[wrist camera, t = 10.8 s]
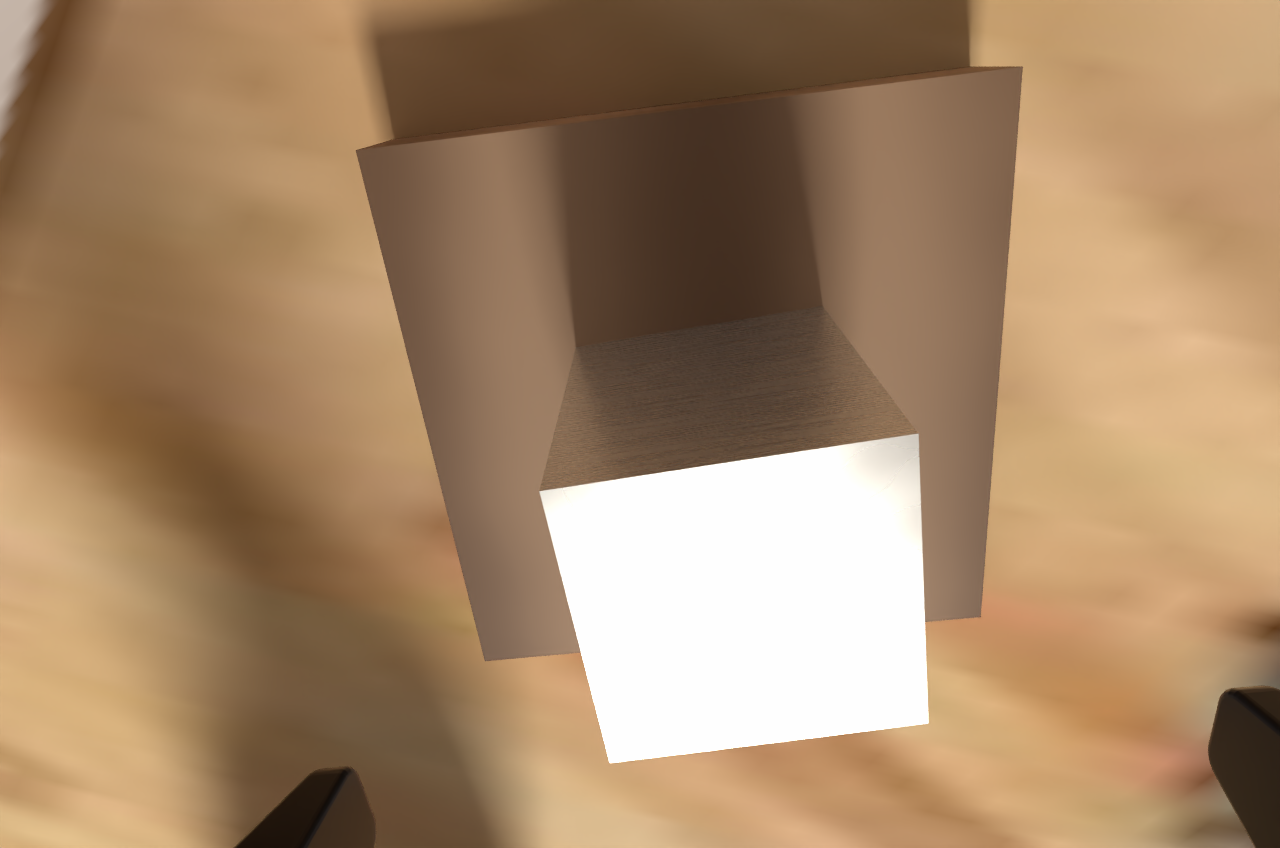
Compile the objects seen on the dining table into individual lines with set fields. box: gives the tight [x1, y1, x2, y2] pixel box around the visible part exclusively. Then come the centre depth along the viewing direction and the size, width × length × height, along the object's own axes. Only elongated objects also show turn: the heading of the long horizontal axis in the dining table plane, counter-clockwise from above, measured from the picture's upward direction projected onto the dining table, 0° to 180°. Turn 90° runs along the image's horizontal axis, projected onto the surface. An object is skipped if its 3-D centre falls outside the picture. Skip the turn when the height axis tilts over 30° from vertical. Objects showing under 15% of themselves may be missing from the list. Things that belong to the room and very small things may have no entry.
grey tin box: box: [539, 306, 928, 763], centre depth 14 cm, size 5×5×6 cm
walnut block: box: [356, 67, 1023, 661], centre depth 18 cm, size 12×12×3 cm
